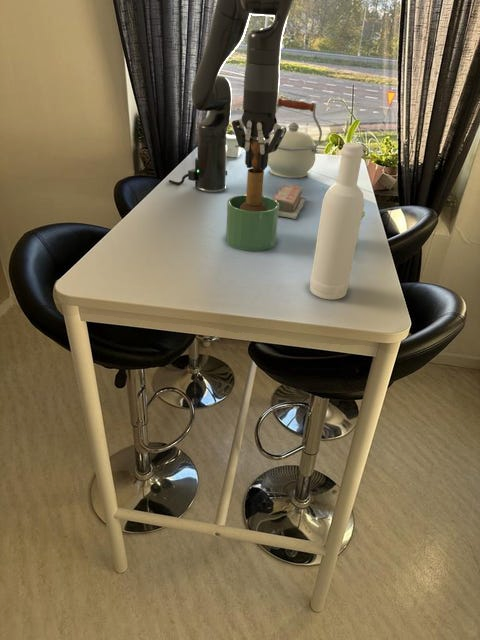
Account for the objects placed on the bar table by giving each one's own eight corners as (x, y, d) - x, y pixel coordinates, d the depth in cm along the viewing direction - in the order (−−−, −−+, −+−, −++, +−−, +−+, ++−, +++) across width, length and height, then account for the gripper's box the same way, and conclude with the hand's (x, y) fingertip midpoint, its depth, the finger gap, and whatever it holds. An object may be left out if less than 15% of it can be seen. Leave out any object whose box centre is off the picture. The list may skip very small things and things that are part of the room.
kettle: (325, 173, 175) (335, 102, 161) (304, 184, 162) (313, 107, 148) (268, 161, 186) (273, 93, 172) (244, 171, 172) (248, 98, 159)
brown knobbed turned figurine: (247, 221, 111) (251, 144, 101) (235, 212, 116) (238, 137, 106) (270, 218, 114) (277, 142, 104) (258, 209, 118) (263, 136, 108)
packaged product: (277, 181, 146) (308, 186, 144) (276, 196, 149) (306, 201, 147) (263, 198, 132) (297, 203, 129) (262, 214, 134) (295, 220, 132)
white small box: (223, 156, 188) (224, 137, 184) (226, 152, 193) (227, 134, 189) (238, 157, 188) (239, 138, 184) (240, 154, 193) (241, 135, 189)
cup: (216, 242, 116) (217, 203, 111) (243, 227, 126) (245, 191, 120) (259, 255, 111) (262, 216, 105) (284, 239, 120) (288, 202, 115)
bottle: (353, 298, 96) (385, 149, 79) (318, 302, 94) (344, 150, 77) (336, 280, 102) (362, 139, 86) (303, 283, 100) (323, 139, 84)
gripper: (298, 89, 98) (289, 171, 108) (243, 82, 104) (239, 160, 114) (281, 92, 93) (273, 178, 103) (224, 85, 99) (222, 166, 109)
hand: (255, 168), depth 108 cm, fingers closed on brown knobbed turned figurine, 2 cm apart
